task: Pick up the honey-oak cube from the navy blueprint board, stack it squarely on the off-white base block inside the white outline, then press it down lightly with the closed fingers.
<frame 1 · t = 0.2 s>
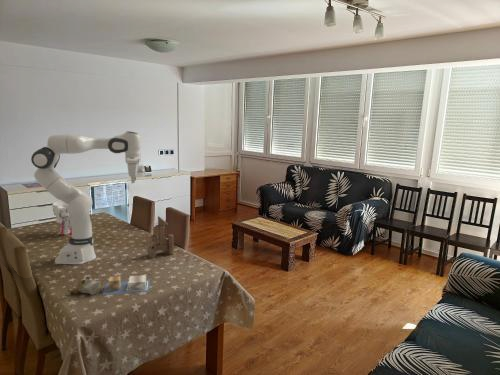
hand: (133, 181, 216), 48 cm above the table, fingers open, 8 cm apart
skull: (69, 234, 262), on the table
blueprint board: (127, 288, 182), on the table
ceramic sculpture: (87, 293, 177), on the table
wooden toy: (160, 254, 229), on the table
base block: (137, 286, 183), point 1 cm above the table, touching blueprint board
oak cube: (114, 287, 181), point 1 cm above the table, touching blueprint board
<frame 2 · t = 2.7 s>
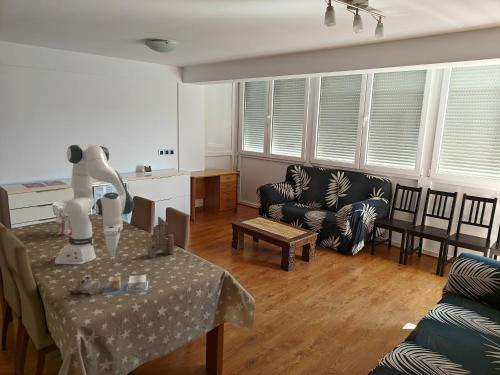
hand: (114, 252, 177), 20 cm above the table, fingers open, 8 cm apart
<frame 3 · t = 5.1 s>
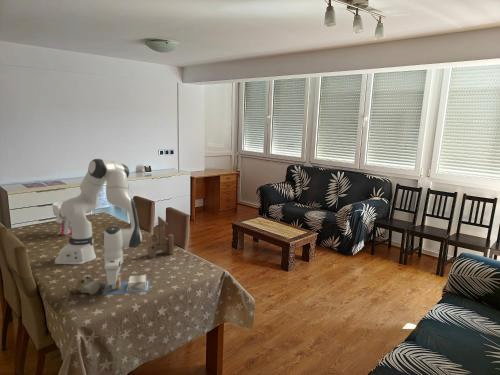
hand: (114, 285, 180), 2 cm above the table, fingers closed on oak cube, 5 cm apart
oak cube: (114, 287, 181), point 1 cm above the table, touching blueprint board, gripper
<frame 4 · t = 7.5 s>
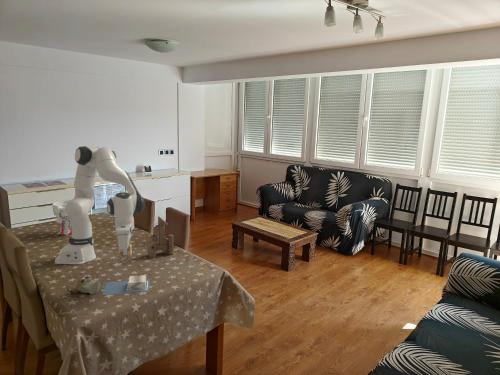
hand: (126, 252, 178), 20 cm above the table, fingers closed on oak cube, 5 cm apart
oak cube: (126, 254, 179), point 18 cm above the table, touching gripper
when the fingers open (8 cm above the table, at t = 9.9 s): oak cube drops 1 cm, resting on base block.
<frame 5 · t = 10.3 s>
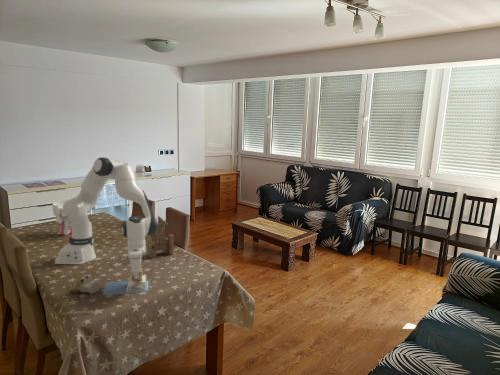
hand: (137, 274, 182), 8 cm above the table, fingers open, 8 cm apart
base block: (137, 286, 183), point 1 cm above the table, touching blueprint board, oak cube
oak cube: (137, 278, 183), point 5 cm above the table, touching base block
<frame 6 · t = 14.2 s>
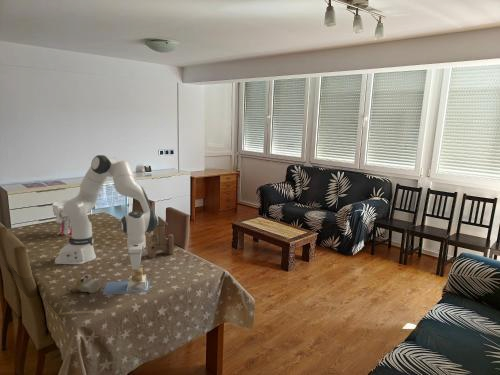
hand: (137, 269, 182), 10 cm above the table, fingers closed, pressing on oak cube
oak cube: (137, 278, 183), point 5 cm above the table, touching base block, gripper
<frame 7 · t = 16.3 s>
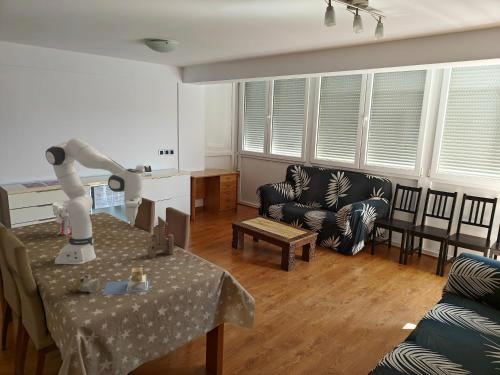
hand: (132, 225, 190), 30 cm above the table, fingers closed
oak cube: (137, 278, 183), point 5 cm above the table, touching base block
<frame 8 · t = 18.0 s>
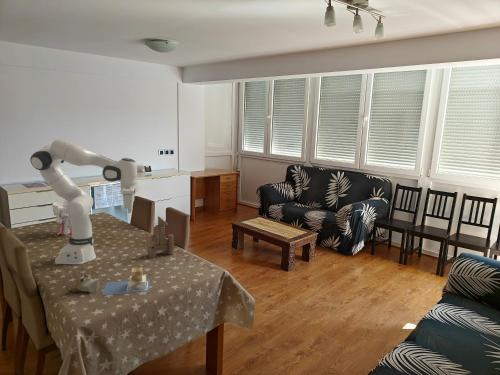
hand: (129, 212, 198), 34 cm above the table, fingers closed
at the end: oak cube 0.2 cm off-centre on the base block, point 4.0 cm above the base block's base; base block 0.0 cm from the target spot, point 1.0 cm above the table; oak cube tilted 0° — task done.
